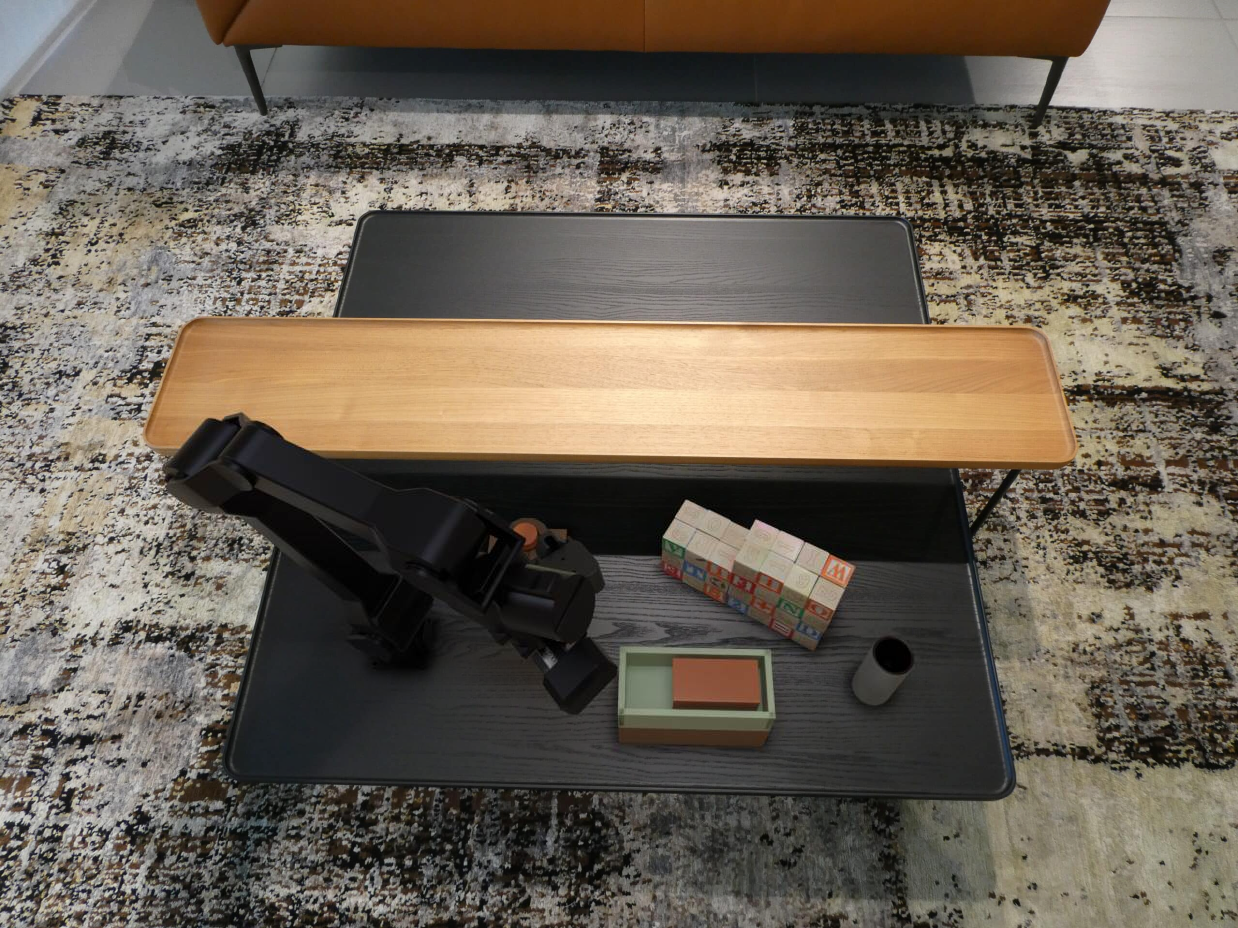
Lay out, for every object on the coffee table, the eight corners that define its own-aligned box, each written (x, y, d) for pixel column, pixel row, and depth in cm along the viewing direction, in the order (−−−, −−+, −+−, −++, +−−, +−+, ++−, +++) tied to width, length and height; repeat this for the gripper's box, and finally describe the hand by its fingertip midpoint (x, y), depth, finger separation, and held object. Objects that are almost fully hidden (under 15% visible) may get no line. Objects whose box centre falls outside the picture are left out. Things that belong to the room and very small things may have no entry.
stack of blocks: (659, 571, 107) (662, 523, 97) (682, 534, 110) (687, 484, 100) (814, 652, 101) (835, 610, 91) (835, 610, 104) (857, 565, 94)
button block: (486, 568, 108) (483, 559, 106) (492, 526, 111) (489, 517, 109) (564, 569, 108) (563, 560, 106) (567, 527, 111) (566, 518, 109)
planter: (849, 667, 100) (869, 634, 91) (887, 668, 100) (911, 635, 91) (854, 705, 97) (875, 674, 89) (893, 706, 97) (918, 675, 89)
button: (512, 551, 107) (510, 544, 105) (514, 529, 109) (513, 522, 107) (537, 551, 107) (536, 545, 105) (539, 529, 109) (538, 522, 107)
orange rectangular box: (672, 700, 87) (760, 702, 86) (672, 657, 89) (757, 659, 89) (671, 714, 91) (755, 716, 90) (671, 672, 93) (752, 674, 93)
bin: (619, 742, 95) (617, 714, 87) (621, 679, 100) (619, 646, 91) (762, 746, 95) (775, 718, 86) (758, 682, 99) (770, 649, 90)
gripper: (619, 600, 71) (689, 655, 83) (514, 481, 83) (588, 544, 95) (526, 695, 71) (609, 736, 82) (434, 562, 83) (518, 615, 94)
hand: (581, 650), depth 89 cm, fingers closed
